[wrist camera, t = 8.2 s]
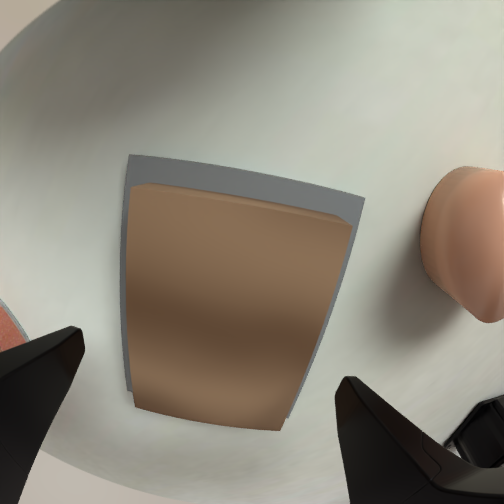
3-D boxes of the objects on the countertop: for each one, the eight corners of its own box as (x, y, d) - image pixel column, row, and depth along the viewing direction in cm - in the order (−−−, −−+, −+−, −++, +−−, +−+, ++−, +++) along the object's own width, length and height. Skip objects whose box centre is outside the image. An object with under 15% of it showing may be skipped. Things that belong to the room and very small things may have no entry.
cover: (277, 405, 13) (280, 430, 11) (144, 383, 13) (135, 407, 11) (336, 215, 10) (353, 226, 8) (149, 182, 10) (130, 187, 8)
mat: (287, 411, 14) (288, 418, 14) (130, 384, 13) (127, 390, 13) (360, 196, 10) (365, 198, 10) (134, 154, 10) (129, 154, 9)
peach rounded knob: (480, 295, 12) (517, 324, 9) (402, 282, 12) (443, 320, 8) (511, 189, 10) (554, 201, 7) (437, 146, 10) (491, 148, 6)
